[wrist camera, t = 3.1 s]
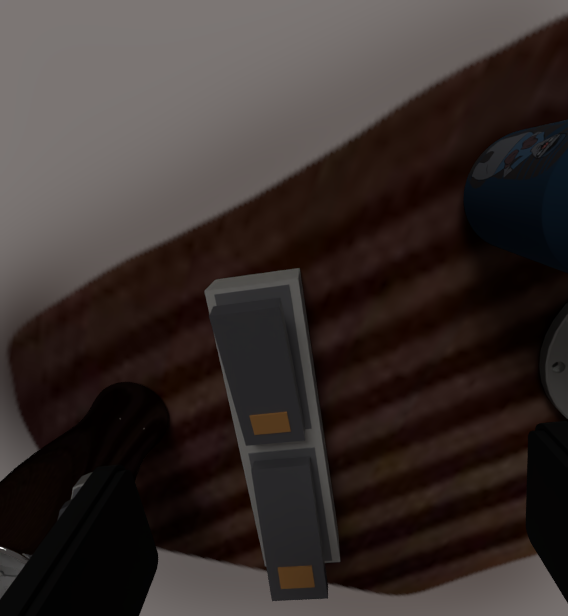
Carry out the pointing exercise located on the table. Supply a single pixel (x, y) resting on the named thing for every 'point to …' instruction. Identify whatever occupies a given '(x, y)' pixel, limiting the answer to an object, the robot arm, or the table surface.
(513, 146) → the soda can
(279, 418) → the outlet rocker
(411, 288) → the table surface
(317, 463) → the power strip
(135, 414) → the beer glass
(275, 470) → the outlet rocker
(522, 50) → the table surface
